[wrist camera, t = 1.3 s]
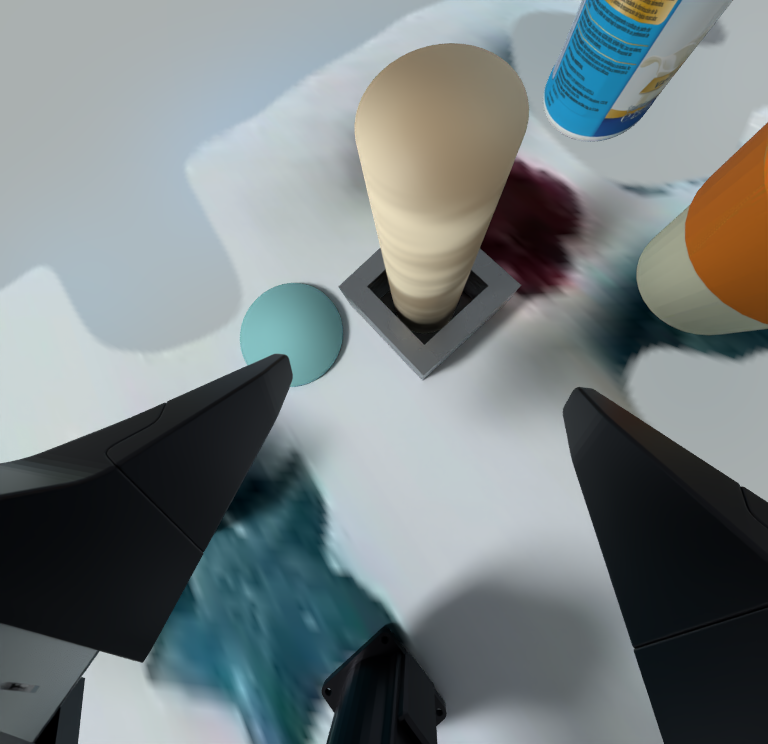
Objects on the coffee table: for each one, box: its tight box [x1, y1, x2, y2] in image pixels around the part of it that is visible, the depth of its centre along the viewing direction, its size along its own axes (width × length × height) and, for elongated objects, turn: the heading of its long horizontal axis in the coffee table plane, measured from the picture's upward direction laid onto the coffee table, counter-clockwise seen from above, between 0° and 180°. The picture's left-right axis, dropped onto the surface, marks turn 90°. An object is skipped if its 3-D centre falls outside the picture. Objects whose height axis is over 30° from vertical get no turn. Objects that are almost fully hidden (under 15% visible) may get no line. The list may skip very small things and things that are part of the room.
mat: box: [240, 283, 343, 387], centre depth 24 cm, size 9×9×1 cm
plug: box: [355, 43, 529, 334], centre depth 15 cm, size 5×5×15 cm
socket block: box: [339, 248, 521, 380], centre depth 21 cm, size 9×9×4 cm
